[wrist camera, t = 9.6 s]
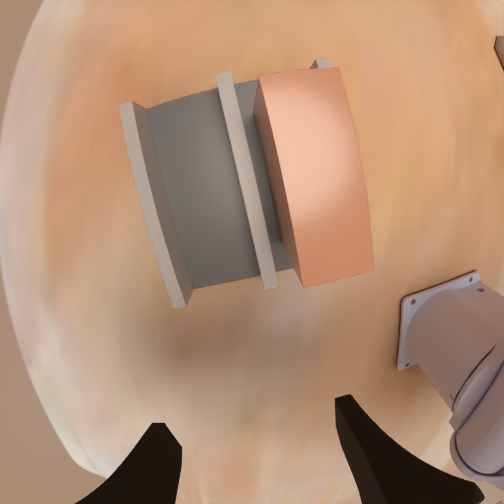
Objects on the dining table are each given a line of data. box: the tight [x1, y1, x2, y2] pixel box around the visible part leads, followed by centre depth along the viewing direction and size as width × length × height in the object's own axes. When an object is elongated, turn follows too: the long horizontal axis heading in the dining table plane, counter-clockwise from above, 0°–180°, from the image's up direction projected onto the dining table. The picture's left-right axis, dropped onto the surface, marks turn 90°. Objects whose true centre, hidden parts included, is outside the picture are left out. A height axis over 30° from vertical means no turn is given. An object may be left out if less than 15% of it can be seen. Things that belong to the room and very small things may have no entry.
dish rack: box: [119, 58, 332, 309], centre depth 15 cm, size 12×12×4 cm
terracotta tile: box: [253, 67, 374, 288], centre depth 13 cm, size 8×3×7 cm, turn 13°
